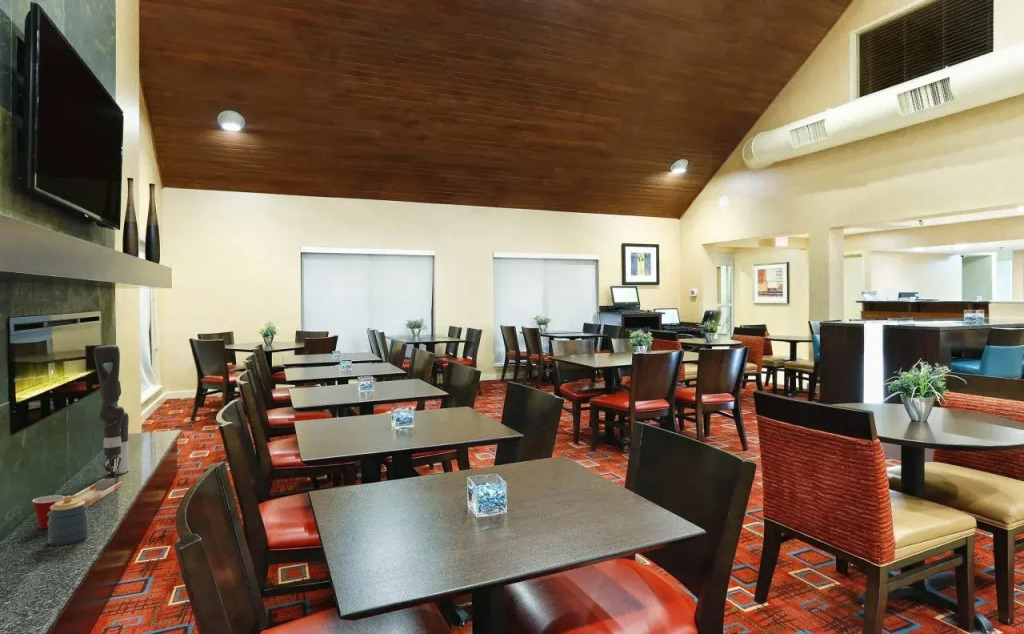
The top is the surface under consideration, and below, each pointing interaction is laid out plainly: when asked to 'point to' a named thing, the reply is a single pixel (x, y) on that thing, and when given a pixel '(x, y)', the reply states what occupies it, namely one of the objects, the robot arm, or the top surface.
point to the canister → (67, 521)
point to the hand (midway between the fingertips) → (112, 478)
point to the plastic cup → (45, 508)
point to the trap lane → (94, 493)
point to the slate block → (105, 483)
